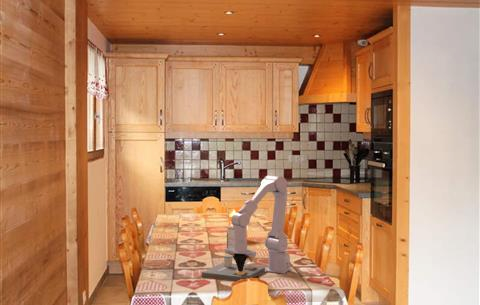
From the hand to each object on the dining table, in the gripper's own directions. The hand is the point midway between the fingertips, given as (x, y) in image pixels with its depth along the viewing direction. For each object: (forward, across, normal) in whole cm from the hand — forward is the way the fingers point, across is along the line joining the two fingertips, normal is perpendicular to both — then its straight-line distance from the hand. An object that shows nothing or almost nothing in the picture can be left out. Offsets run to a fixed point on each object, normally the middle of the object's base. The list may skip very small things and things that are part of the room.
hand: (240, 270), depth 246 cm
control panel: (+3, -6, +5) cm, 8 cm away
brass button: (+3, 0, 0) cm, 3 cm away
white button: (+1, 0, +10) cm, 10 cm away
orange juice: (+3, -40, +76) cm, 86 cm away
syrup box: (+3, -26, +44) cm, 51 cm away
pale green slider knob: (+1, -11, +9) cm, 14 cm away
